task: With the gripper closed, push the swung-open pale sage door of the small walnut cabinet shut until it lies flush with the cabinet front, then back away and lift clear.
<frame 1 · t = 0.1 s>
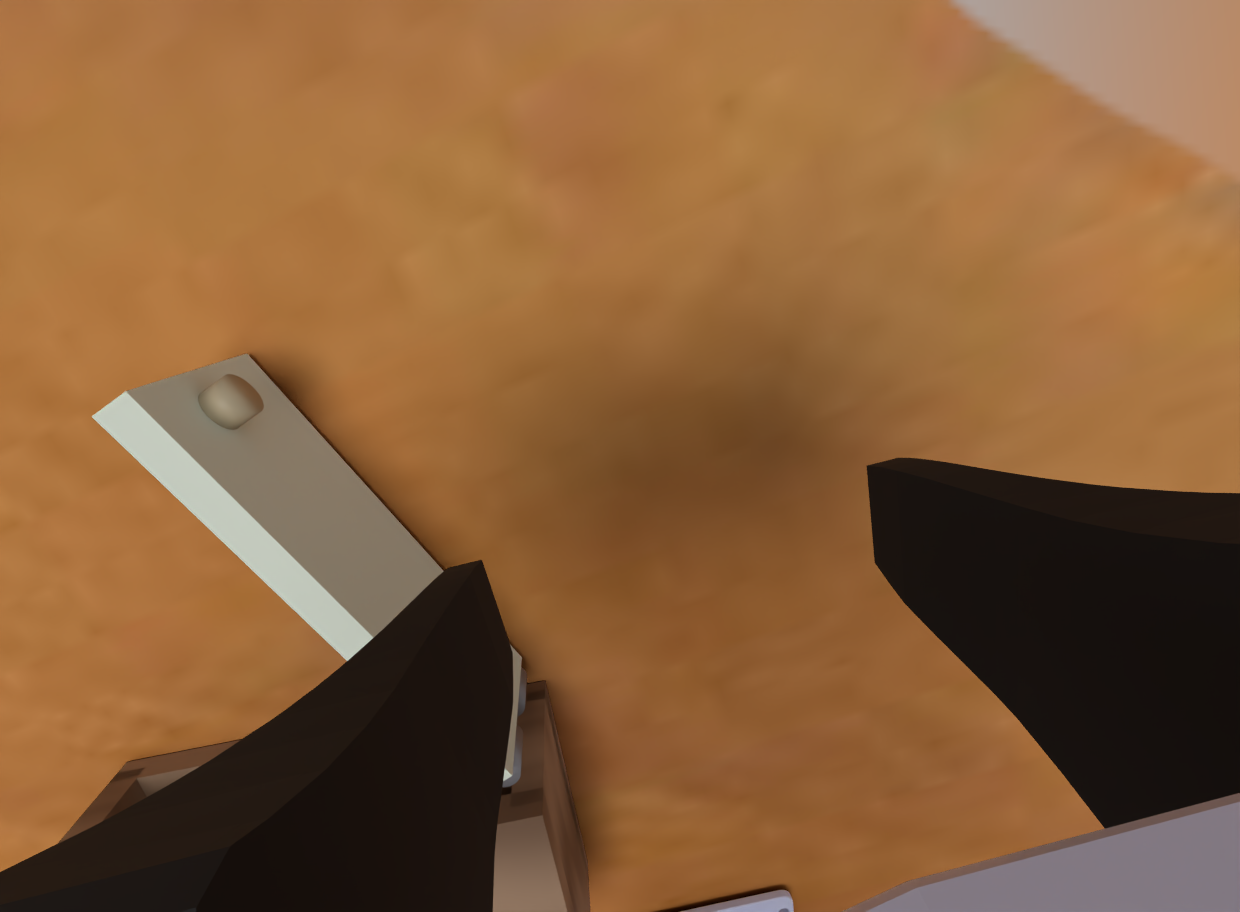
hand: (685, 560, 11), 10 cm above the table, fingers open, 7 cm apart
walnut cabinet: (376, 816, 25), on the table
cabinet door: (382, 570, 18), point 3 cm above the table, hinge at 65.0°
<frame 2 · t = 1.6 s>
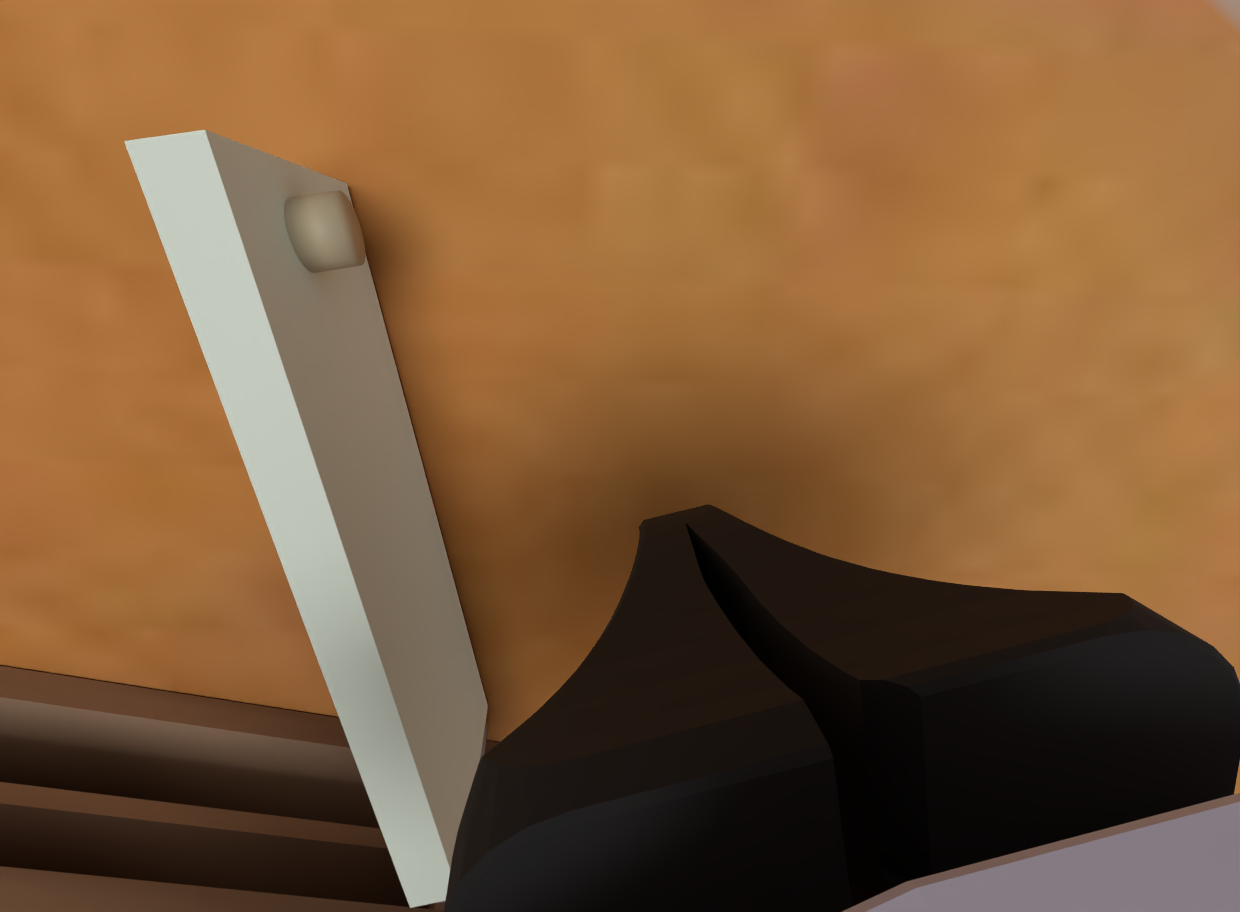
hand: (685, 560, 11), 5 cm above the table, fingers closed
walnut cabinet: (195, 834, 18), on the table
cabinet door: (401, 545, 13), point 3 cm above the table, hinge at 65.0°
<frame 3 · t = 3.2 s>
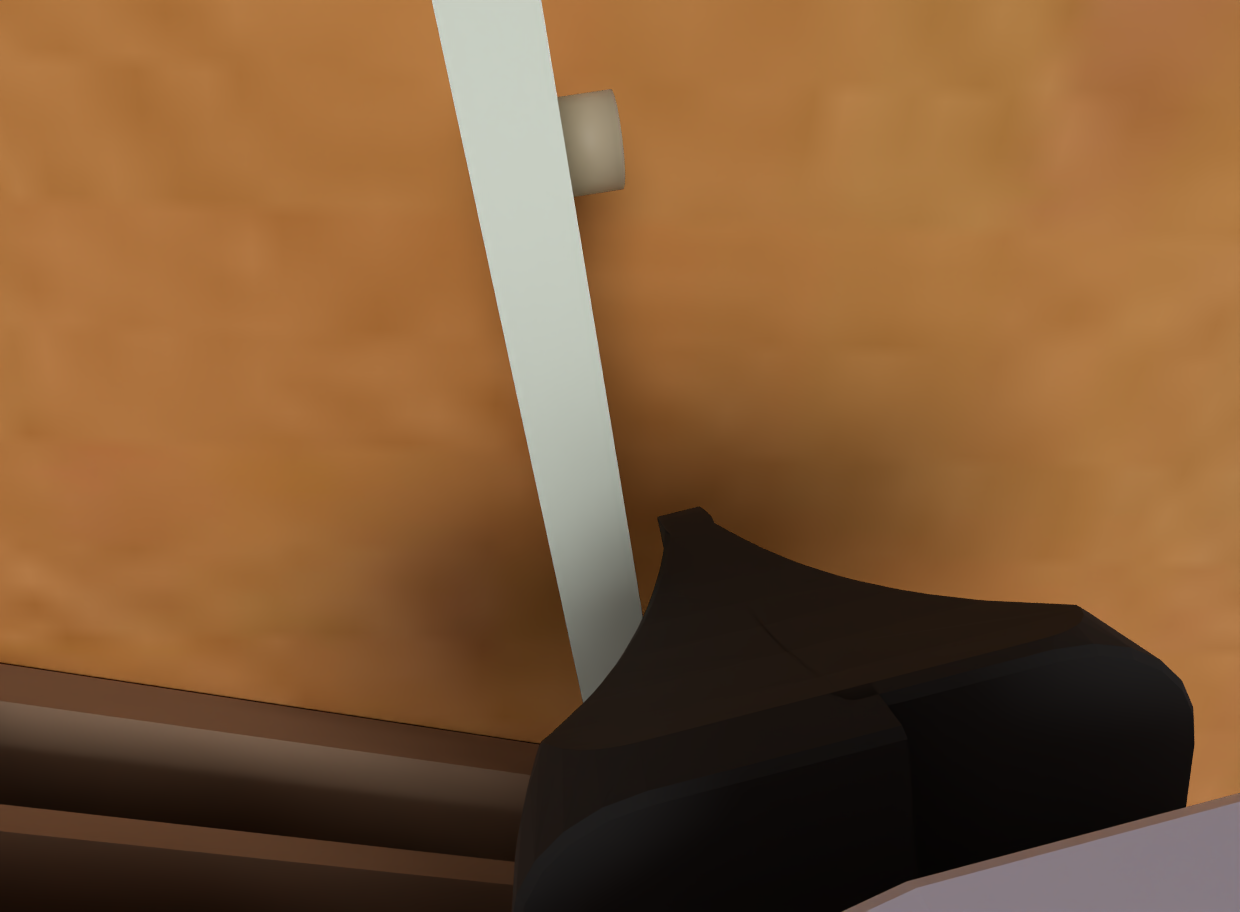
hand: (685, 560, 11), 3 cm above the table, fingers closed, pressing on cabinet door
walnut cabinet: (315, 866, 16), on the table
cabinet door: (616, 540, 11), point 3 cm above the table, hinge at 64.9°, touching gripper
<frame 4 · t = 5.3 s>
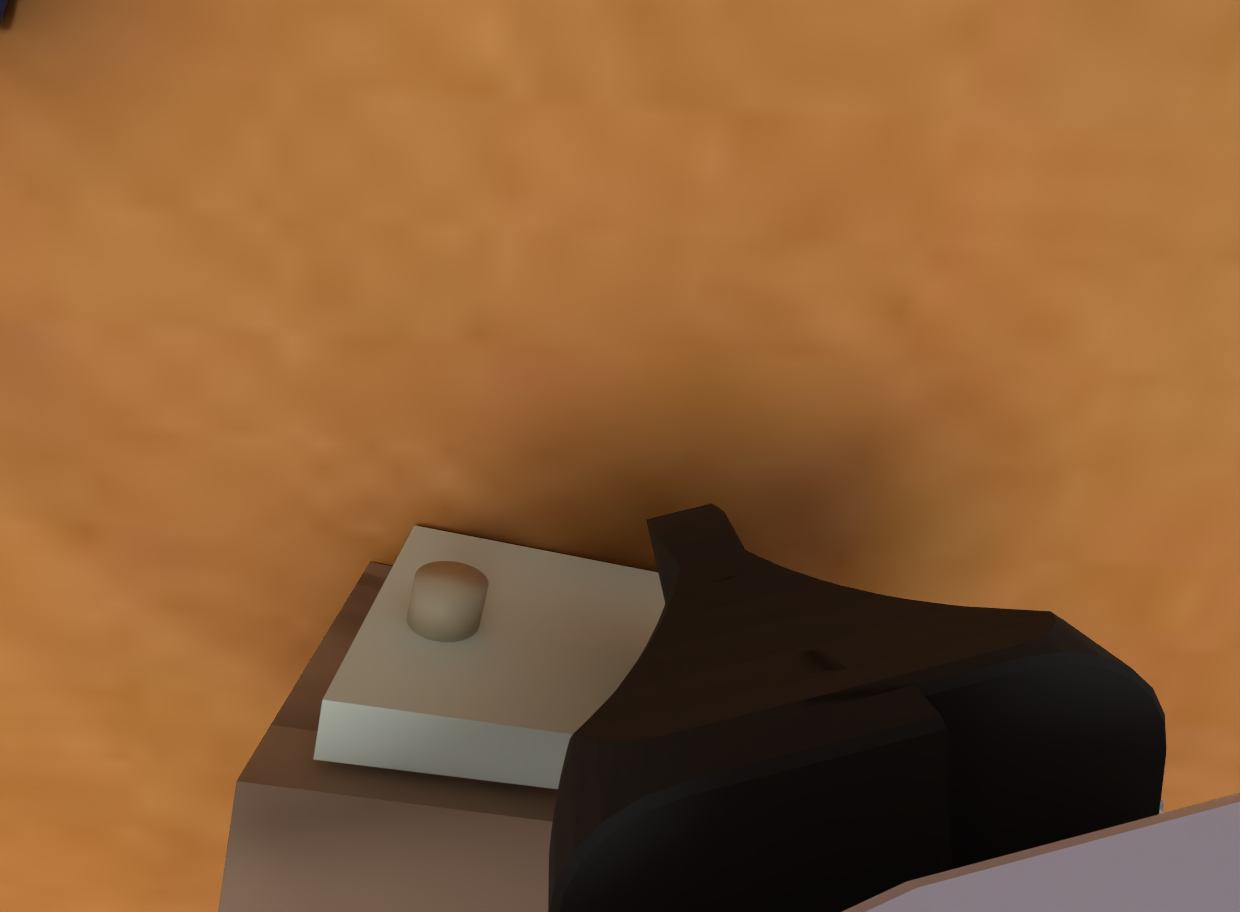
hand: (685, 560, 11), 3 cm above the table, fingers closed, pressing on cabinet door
walnut cabinet: (642, 782, 16), on the table
cabinet door: (762, 661, 12), point 3 cm above the table, hinge at -1.2°, touching gripper
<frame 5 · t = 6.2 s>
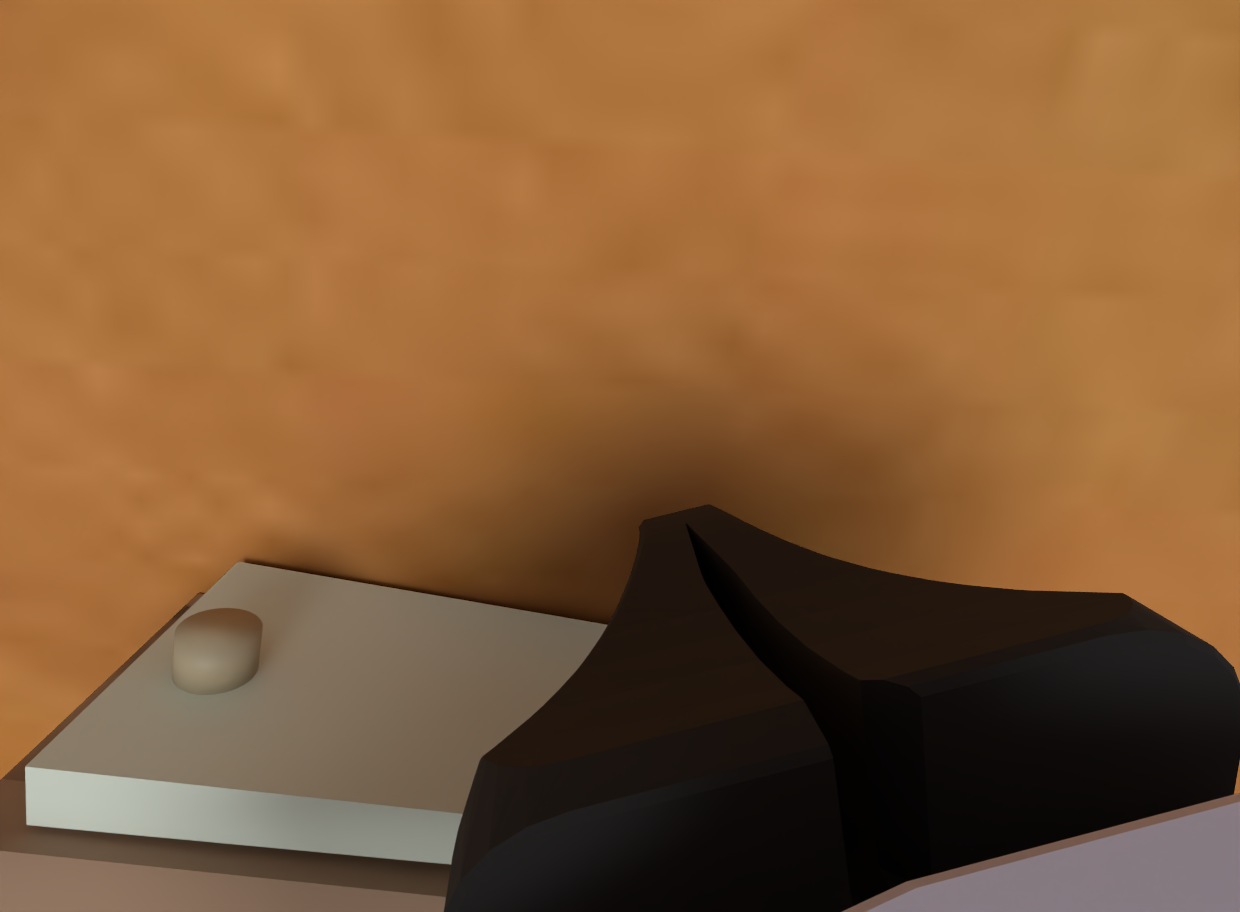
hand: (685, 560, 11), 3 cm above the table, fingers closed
walnut cabinet: (503, 811, 16), on the table
cabinet door: (572, 703, 12), point 3 cm above the table, hinge at -1.6°
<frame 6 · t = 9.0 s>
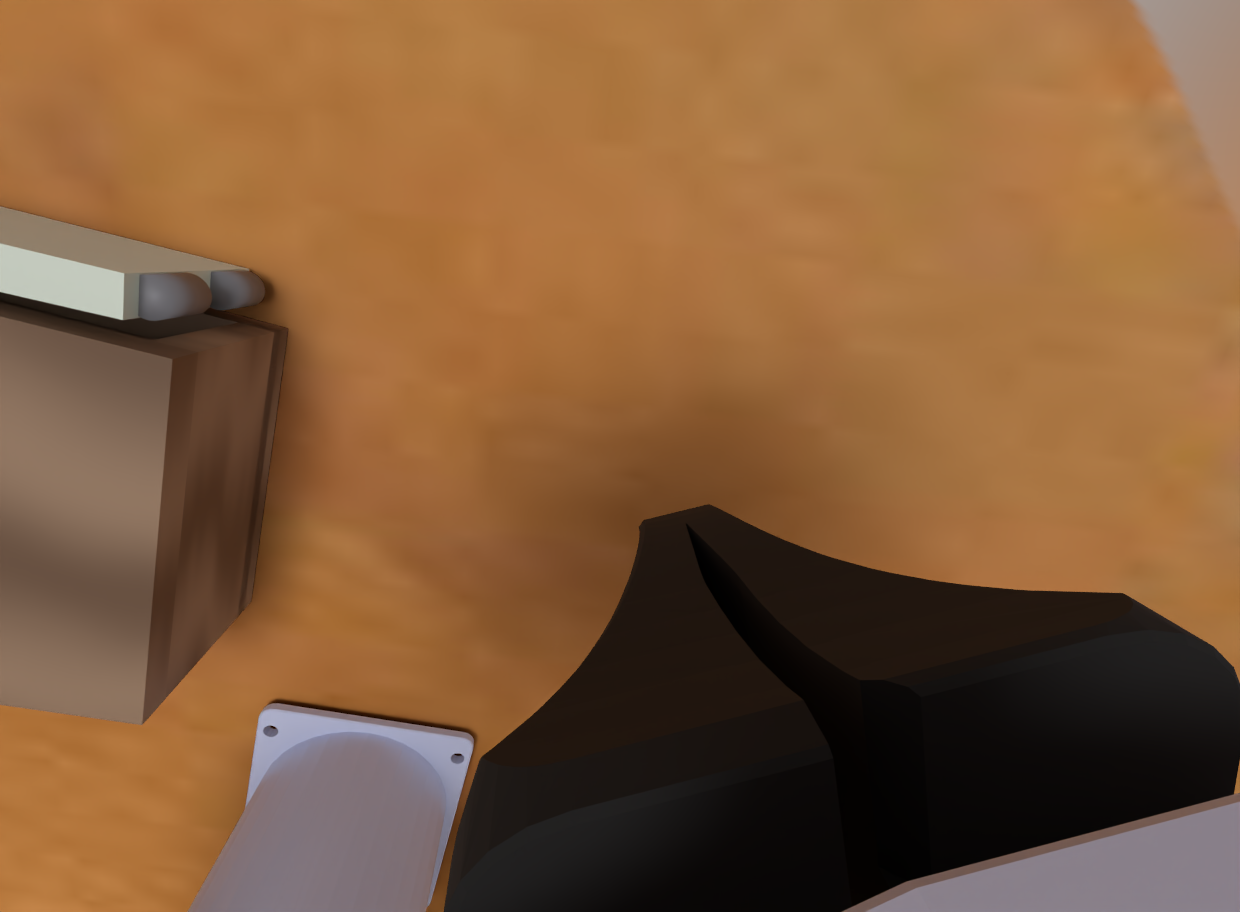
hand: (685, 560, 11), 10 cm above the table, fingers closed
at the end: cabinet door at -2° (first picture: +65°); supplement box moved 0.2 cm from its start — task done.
